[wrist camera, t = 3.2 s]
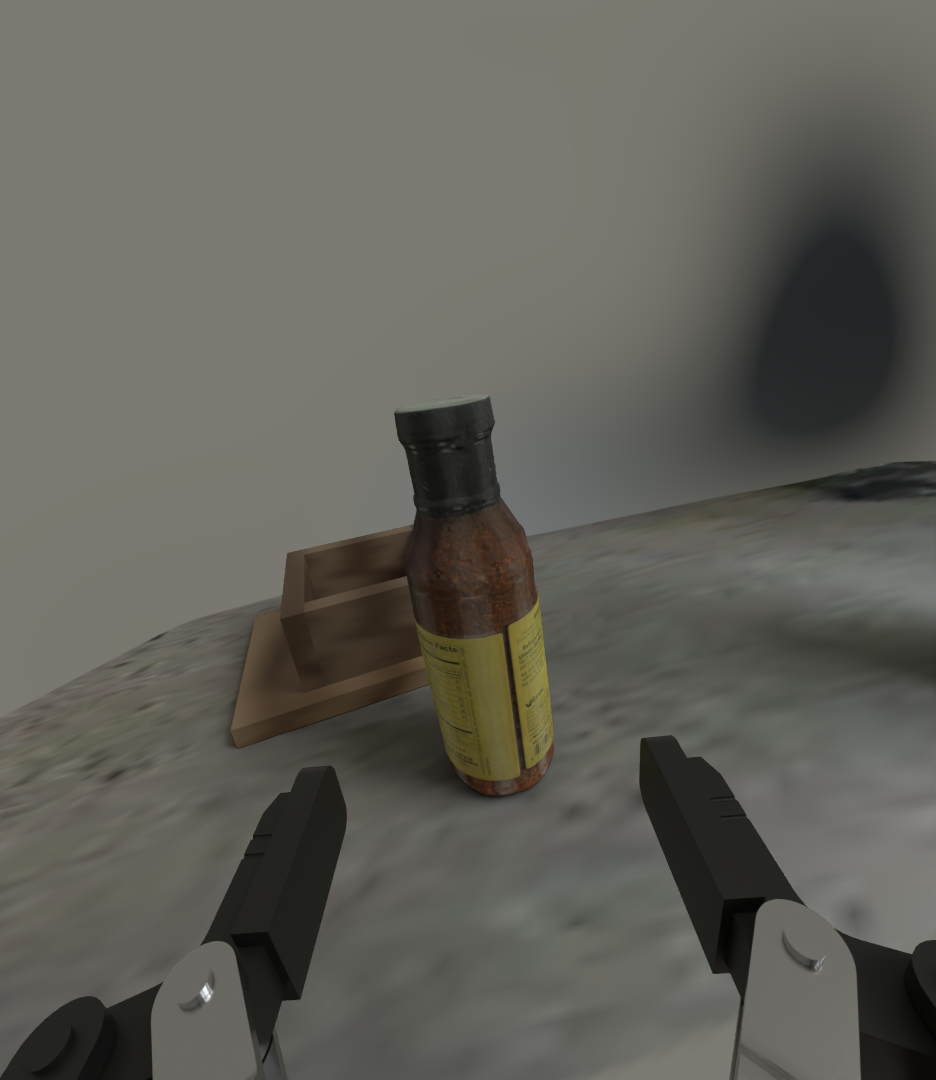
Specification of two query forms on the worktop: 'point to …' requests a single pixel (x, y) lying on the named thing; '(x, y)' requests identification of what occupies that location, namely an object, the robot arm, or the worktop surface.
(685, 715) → the worktop surface
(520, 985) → the worktop surface
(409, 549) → the sauce bottle
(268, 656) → the walnut caddy
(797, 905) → the robot arm
